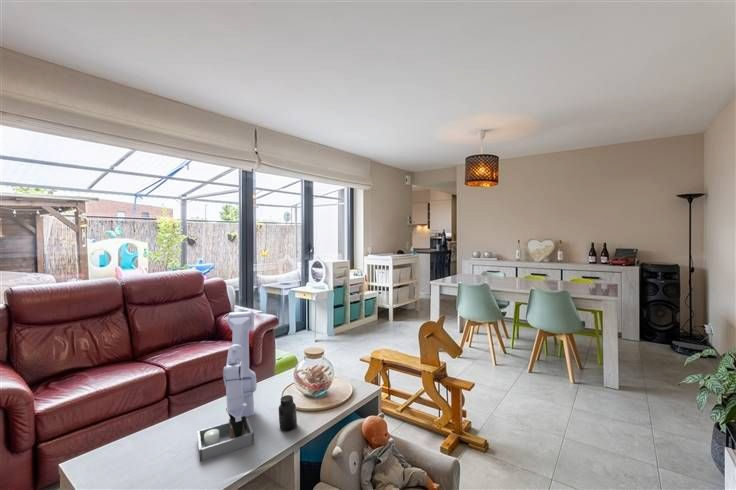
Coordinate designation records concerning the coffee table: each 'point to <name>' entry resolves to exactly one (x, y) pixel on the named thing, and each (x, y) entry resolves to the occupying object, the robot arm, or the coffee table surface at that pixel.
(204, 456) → the tote
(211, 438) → the pale green cylinder
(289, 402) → the supplement bottle
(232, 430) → the walnut block
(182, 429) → the coffee table surface
